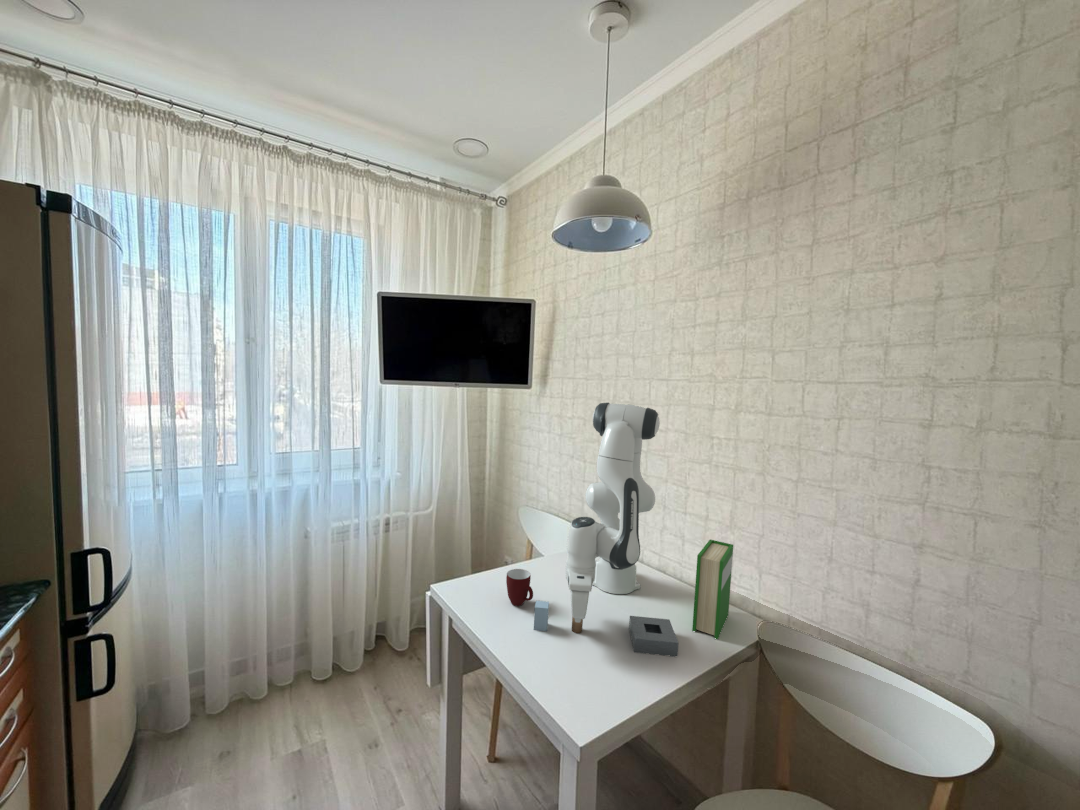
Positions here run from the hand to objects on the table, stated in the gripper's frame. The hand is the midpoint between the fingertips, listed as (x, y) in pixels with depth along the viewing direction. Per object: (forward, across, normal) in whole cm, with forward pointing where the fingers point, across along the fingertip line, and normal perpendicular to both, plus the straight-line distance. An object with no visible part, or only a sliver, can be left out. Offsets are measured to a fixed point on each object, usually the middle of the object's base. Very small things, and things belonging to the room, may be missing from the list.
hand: (577, 617), depth 130 cm
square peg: (+4, 0, -11) cm, 12 cm away
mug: (+4, -12, -19) cm, 23 cm away
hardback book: (+4, -12, +43) cm, 45 cm away
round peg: (+4, 0, 0) cm, 4 cm away
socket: (+4, +2, +22) cm, 22 cm away
